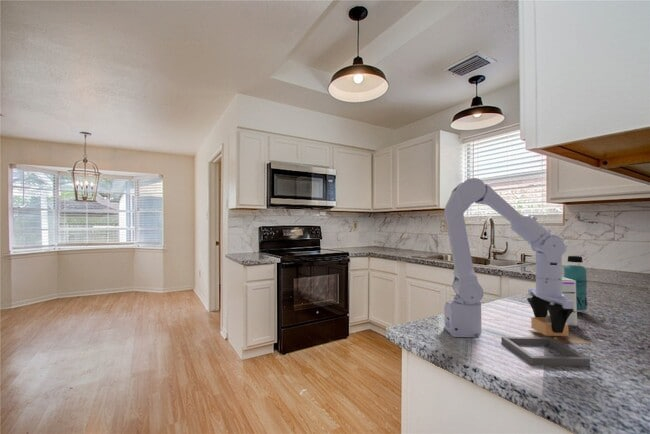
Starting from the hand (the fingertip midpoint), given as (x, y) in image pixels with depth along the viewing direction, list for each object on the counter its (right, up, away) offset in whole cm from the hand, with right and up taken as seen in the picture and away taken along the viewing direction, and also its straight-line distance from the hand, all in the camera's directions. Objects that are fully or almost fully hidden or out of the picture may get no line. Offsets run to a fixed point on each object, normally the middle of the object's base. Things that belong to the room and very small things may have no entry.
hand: (549, 328), depth 81 cm
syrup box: (+12, -3, +11) cm, 17 cm away
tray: (-10, -3, -12) cm, 16 cm away
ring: (0, -1, 0) cm, 1 cm away
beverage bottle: (+28, -4, +24) cm, 37 cm away
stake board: (+2, -3, -1) cm, 3 cm away
